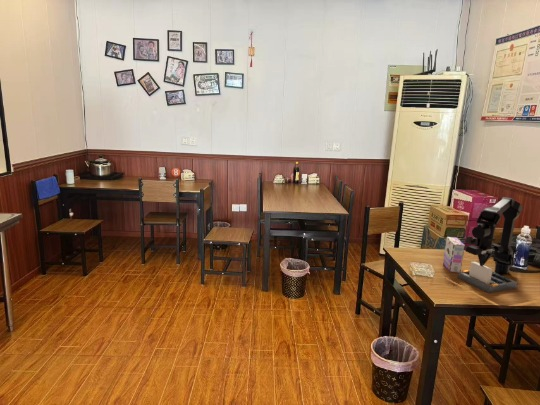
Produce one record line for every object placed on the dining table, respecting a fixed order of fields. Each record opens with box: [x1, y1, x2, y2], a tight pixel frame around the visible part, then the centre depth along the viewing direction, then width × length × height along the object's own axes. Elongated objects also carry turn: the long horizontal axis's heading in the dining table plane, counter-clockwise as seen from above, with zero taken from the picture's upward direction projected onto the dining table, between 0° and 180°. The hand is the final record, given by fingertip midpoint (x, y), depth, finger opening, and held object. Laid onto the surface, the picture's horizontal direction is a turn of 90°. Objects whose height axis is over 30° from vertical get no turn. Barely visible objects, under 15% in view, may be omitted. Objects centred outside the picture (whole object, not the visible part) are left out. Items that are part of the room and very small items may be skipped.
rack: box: [457, 269, 519, 294], centre depth 182 cm, size 19×18×5 cm
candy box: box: [442, 236, 466, 273], centre depth 199 cm, size 14×6×16 cm, turn 168°
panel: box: [469, 261, 493, 285], centre depth 179 cm, size 2×10×10 cm, turn 20°
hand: (481, 265), depth 178 cm, fingers closed, pressing on panel
